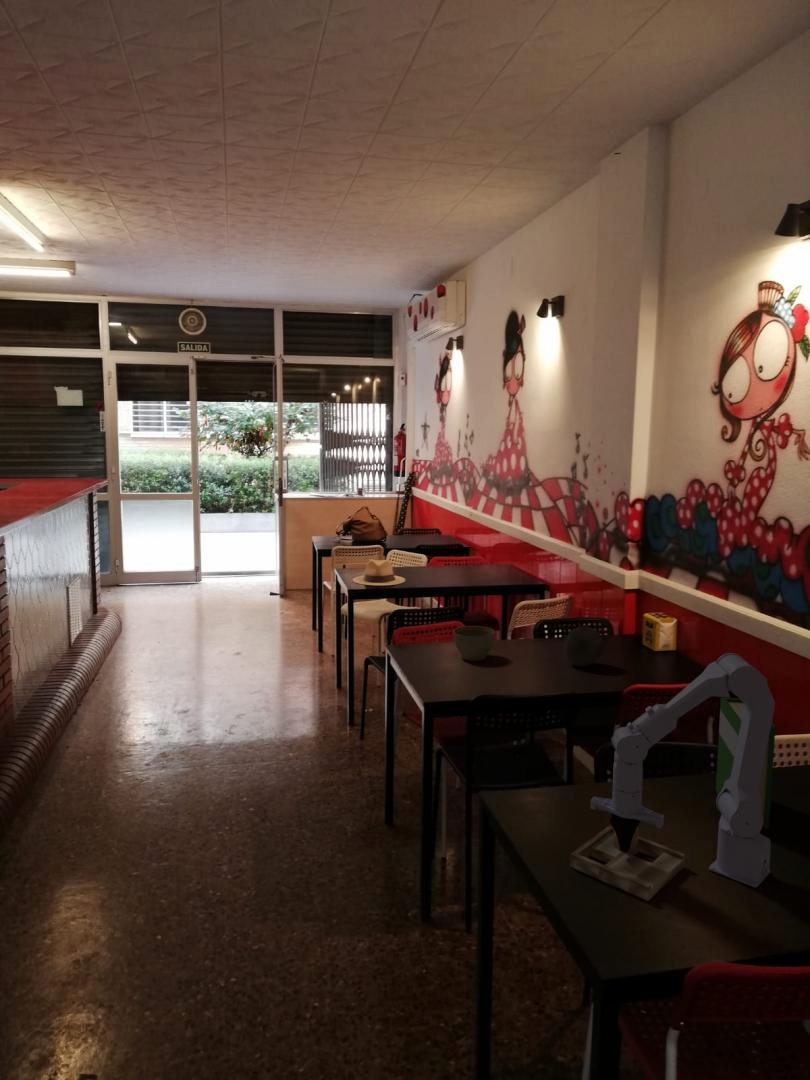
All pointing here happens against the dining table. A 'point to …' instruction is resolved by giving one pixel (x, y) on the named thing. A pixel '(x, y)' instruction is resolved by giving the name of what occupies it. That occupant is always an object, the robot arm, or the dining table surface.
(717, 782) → the hardback book
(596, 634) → the cantaloupe
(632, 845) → the brown rounded lump
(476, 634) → the planter bowl
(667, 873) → the wooden frame
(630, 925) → the dining table surface
